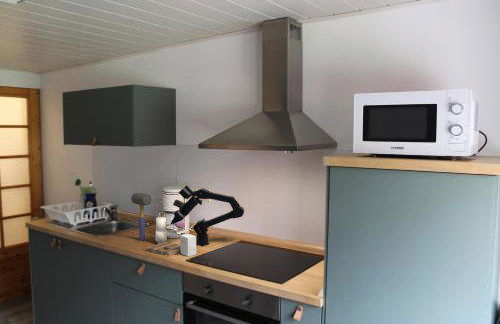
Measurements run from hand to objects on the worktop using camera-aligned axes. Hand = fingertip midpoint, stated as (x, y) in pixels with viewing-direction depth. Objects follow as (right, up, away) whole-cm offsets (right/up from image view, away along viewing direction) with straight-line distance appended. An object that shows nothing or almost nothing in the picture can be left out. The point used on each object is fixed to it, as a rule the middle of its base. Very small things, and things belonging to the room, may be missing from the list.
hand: (172, 222), depth 246 cm
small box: (+13, -15, -21) cm, 28 cm away
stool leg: (-7, -13, +1) cm, 15 cm away
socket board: (-1, -14, -13) cm, 20 cm away
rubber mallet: (-21, -13, +10) cm, 26 cm away
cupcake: (0, -12, +27) cm, 29 cm away
